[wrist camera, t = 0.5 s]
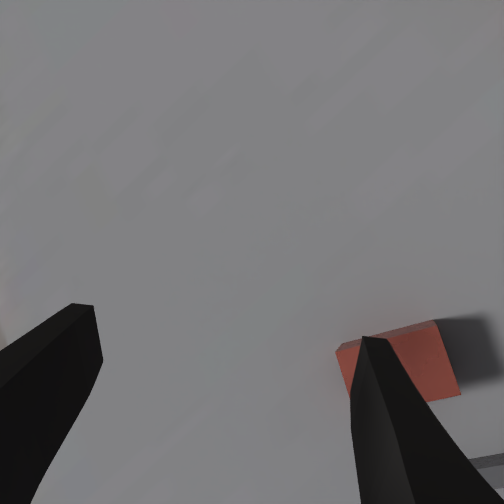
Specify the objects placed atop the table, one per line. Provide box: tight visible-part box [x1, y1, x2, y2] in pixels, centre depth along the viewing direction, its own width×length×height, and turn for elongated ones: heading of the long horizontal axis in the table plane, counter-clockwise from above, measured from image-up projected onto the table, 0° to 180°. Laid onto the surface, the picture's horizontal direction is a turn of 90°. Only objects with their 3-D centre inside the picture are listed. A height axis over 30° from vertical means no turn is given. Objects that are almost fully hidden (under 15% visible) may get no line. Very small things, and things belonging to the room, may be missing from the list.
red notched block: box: [335, 320, 461, 402], centre depth 32 cm, size 5×7×4 cm, turn 108°
